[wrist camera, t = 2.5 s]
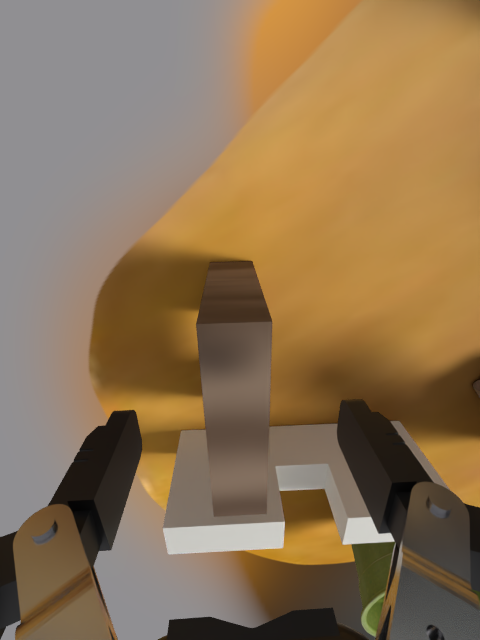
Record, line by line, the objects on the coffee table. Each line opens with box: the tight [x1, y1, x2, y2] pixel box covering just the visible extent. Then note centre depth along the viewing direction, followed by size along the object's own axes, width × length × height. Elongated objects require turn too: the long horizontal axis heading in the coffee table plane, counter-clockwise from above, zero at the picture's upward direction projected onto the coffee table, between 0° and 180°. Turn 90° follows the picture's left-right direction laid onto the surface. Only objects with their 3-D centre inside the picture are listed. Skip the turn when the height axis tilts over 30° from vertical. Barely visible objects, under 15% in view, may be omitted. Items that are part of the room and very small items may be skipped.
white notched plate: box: [163, 421, 450, 554], centre depth 28 cm, size 4×24×10 cm, turn 91°
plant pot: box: [352, 542, 480, 636], centre depth 33 cm, size 12×12×11 cm
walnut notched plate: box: [196, 261, 272, 517], centre depth 22 cm, size 14×4×12 cm, turn 1°
